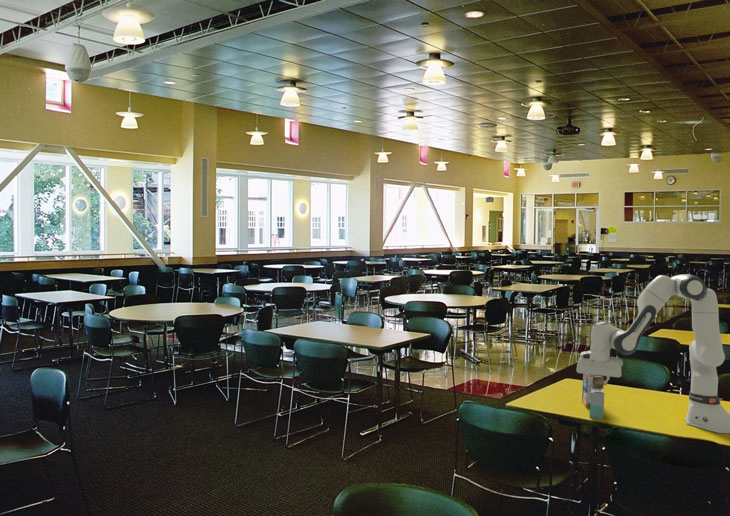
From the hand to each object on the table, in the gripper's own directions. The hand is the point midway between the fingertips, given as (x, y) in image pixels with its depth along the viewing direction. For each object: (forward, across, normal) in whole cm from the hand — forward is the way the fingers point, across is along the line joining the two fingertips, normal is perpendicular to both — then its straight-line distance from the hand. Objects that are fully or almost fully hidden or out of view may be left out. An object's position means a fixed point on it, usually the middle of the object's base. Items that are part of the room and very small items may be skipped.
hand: (598, 384), depth 297 cm
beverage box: (+16, +3, -20) cm, 25 cm away
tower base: (+16, 0, 0) cm, 16 cm away
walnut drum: (+2, 0, 0) cm, 2 cm away
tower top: (+10, 0, 0) cm, 10 cm away
